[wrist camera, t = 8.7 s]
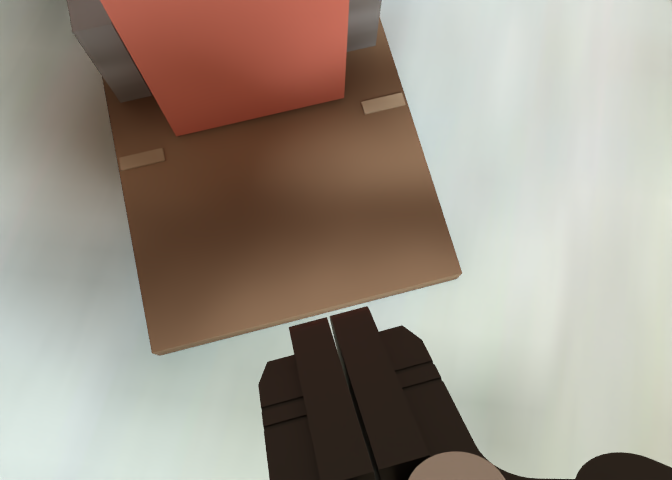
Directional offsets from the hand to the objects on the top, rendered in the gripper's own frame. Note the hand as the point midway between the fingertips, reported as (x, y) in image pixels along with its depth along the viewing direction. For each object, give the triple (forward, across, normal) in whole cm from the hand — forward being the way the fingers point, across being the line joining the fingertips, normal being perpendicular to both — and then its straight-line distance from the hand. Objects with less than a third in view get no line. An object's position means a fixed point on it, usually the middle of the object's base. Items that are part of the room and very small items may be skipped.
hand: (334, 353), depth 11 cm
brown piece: (+15, 0, -1) cm, 15 cm away
